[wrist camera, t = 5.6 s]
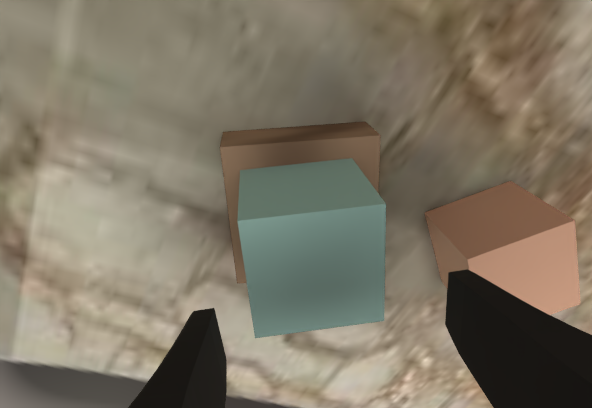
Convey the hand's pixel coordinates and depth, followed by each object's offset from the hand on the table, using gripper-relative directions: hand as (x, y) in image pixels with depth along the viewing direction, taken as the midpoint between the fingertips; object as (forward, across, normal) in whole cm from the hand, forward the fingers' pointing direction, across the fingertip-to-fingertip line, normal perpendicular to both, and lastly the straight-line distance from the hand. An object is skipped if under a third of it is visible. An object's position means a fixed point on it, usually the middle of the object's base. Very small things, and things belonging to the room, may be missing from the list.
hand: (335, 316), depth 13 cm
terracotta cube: (+10, -10, +4) cm, 15 cm away
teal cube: (+7, 0, 0) cm, 7 cm away
